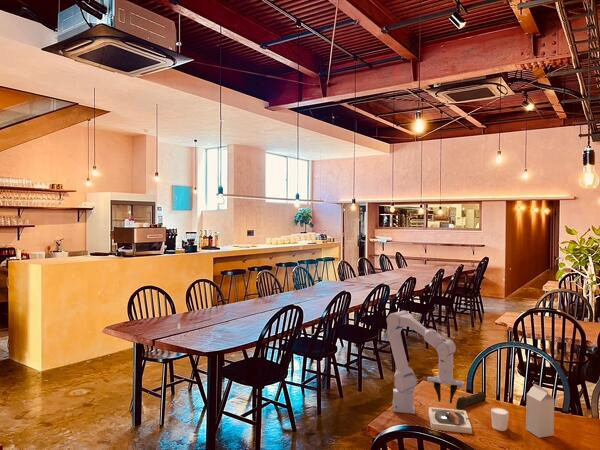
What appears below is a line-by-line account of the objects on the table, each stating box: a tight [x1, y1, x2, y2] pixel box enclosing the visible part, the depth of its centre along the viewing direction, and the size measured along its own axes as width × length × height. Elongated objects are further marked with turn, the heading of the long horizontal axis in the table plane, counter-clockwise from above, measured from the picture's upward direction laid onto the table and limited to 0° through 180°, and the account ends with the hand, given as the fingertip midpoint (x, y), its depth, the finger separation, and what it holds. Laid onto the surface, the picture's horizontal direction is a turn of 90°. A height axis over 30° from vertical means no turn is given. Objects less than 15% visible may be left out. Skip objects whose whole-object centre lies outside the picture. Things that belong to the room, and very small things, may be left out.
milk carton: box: [525, 383, 555, 439], centre depth 179 cm, size 7×7×19 cm
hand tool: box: [455, 391, 487, 410], centre depth 205 cm, size 19×4×5 cm, turn 120°
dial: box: [435, 410, 464, 425], centre depth 187 cm, size 12×12×4 cm
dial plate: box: [427, 406, 473, 435], centre depth 188 cm, size 16×16×2 cm
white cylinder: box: [490, 407, 510, 432], centre depth 183 cm, size 7×7×7 cm
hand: (445, 401), depth 184 cm, fingers open, 4 cm apart
